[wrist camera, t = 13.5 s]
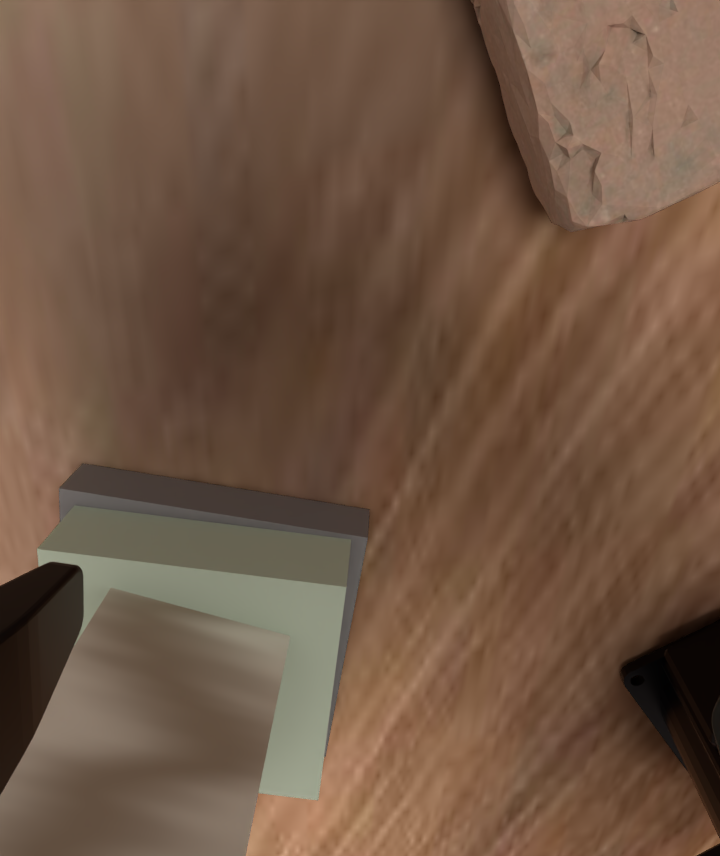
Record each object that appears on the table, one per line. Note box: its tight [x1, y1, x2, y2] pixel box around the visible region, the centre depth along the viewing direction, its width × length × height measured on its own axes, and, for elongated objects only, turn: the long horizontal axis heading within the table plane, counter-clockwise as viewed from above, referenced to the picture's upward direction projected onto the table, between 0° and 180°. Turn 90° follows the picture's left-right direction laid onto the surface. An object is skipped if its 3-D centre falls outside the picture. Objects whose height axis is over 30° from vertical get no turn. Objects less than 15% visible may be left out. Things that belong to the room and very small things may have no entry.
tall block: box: [0, 588, 290, 856], centre depth 17 cm, size 6×6×10 cm
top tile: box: [37, 505, 351, 800], centre depth 22 cm, size 9×9×2 cm
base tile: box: [59, 463, 369, 757], centre depth 25 cm, size 10×10×2 cm
